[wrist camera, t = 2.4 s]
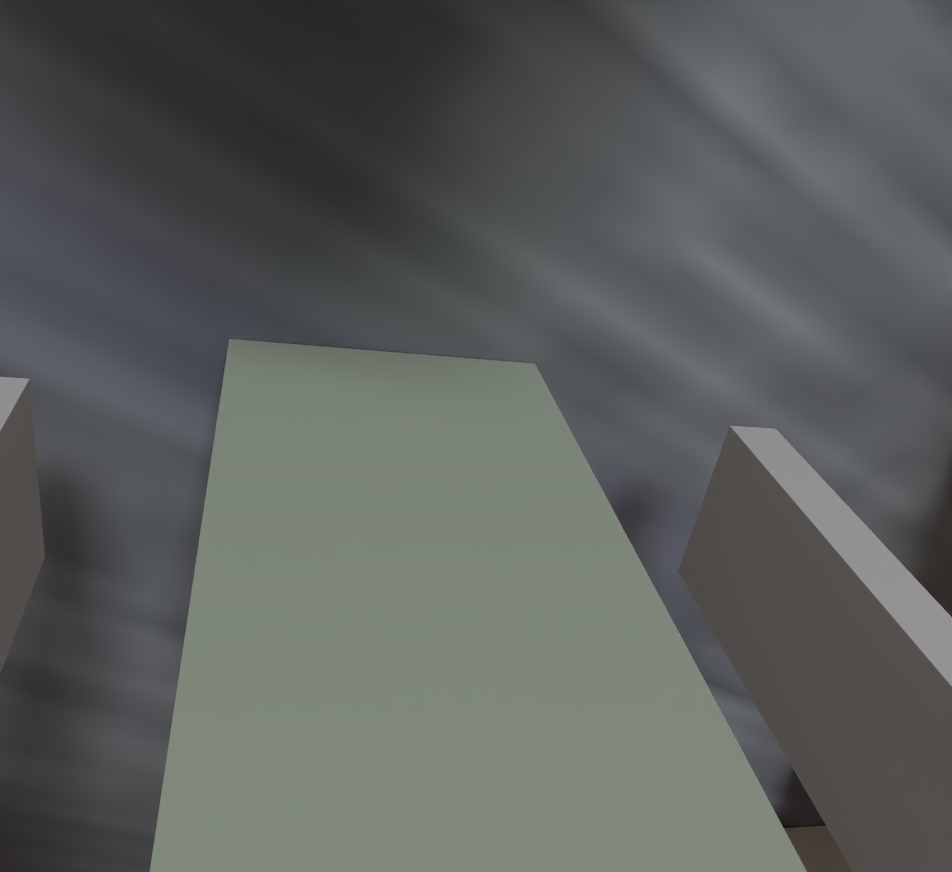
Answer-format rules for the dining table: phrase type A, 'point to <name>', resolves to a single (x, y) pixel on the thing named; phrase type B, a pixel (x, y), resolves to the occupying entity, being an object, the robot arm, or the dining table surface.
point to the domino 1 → (433, 643)
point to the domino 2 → (817, 849)
